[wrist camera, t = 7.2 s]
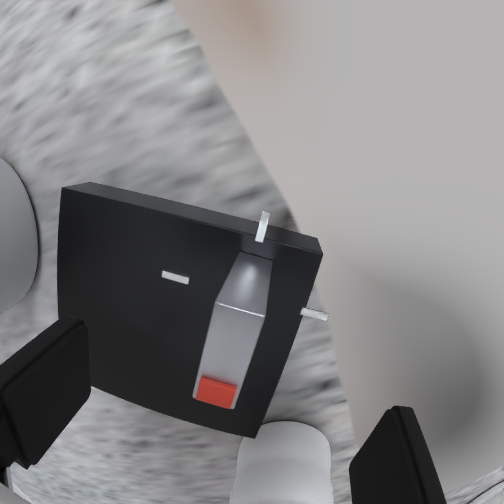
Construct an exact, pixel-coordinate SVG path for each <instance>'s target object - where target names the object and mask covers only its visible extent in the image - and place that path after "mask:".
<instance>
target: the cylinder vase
mask: <svg viewBox="0 0 504 504" xmlns="http://www.w3.org/2000/svg"><path fill="white" fill-rule="evenodd" d="M37 259H38V238H37V229H36V223H35V218H34V213H33V209H32V206H31V202H30V199H29V197H28V194H27V192H26V189H25V187H24V185H23V183H22V181H21V179H20V178H19V176H18V175H17V173H16V172H15V171H14V169H13V168H12V167H11V166H10V165H9V164H8V163H7V162H6V161H5V160H3V159H2V158H0V314H2V313H3V312H5V311H6V310H8V309H9V308H11V307H12V306H14V305H15V304H17V303H18V302H20V301H21V300H22V299H23V298H24V297H25V295H26V294H27V293H28V291H29V289H30V287H31V285H32V283H33V280H34V277H35V273H36V267H37Z"/></svg>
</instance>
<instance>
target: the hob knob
mask: <svg viewBox="0 0 504 504" xmlns="http://www.w3.org/2000/svg"><path fill="white" fill-rule="evenodd" d="M272 265H273V261H271V260H268V259H264V258H261V257H257V256H254V255H250V254H247V253H244V252H239V254H238V256H237V258H236V260H235V262H234V264H233V266H232V268H231V270H230V272H229V274H228V276H227V278H226V280H225V282H224V284H223V286H222V288H221V290H220V292H219V294H218V296H217V298H216V300H215V302H214V306H213V311H212V315H211V319H210V323H209V327H208V331H207V335H206V340H205V344H204V348H203V352H202V356H201V361H200V365H199V369H198V374H197V378H196V382H195V387H194V391H193V395H192V396H193V398H195V399H196V400H200V401H203V402H206V403H210V404H213V405H216V406H220V407H223V408H227V409H230V408H231V409H234V407H235V404H236V402H237V399H238V396H239V393H240V390H241V387H242V384H243V381H244V379H245V376H246V373H247V370H248V367H249V364H250V361H251V358H252V355H253V352H254V349H255V346H256V343H257V340H258V337H259V334H260V331H261V328H262V325H263V322H264V319H265V315H266V308H267V301H268V294H269V287H270V279H271V272H272Z"/></svg>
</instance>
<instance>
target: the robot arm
mask: <svg viewBox="0 0 504 504" xmlns="http://www.w3.org/2000/svg"><path fill="white" fill-rule="evenodd" d="M90 393H91V383H90V368H89V342H88V328H87V327H85V323H84V321H83V320H81V319H78V318H76V317H74V316H71V315H69V314H66V315H64V316H63V317H61V318H60V319H59V320H57V321H56V322H55V323H54V324H52V325H51V326H50V327H48V328H47V329H46V330H44V331H43V332H42V333H40V334H39V335H38V336H37V337H35V338H34V339H33V340H31V341H30V342H29V343H28V344H26V345H25V346H24V347H22V348H21V349H20V350H19V351H17V352H16V353H15V354H14V355H12V356H11V357H10V358H9V359H7V360H6V361H5V362H4V363H2V364H1V365H0V504H31V503H29V502H27V501H26V500H25V499H23V498H22V497H20V496H19V495H17V494H16V493H14V492H13V487H12V480H11V473H10V466H11V464H12V463H13V462H14V461H15V462H16V463H18V464H19V465H21V466H22V467H23V468H25V469H26V470H27V469H28V468H29V466H30V465H31V464H32V465H35V464H37V463H38V462H39V460H40V459H41V458H42V457H43V455H44V454H45V453H46V451H47V450H48V449H49V448H50V446H51V445H52V444H53V442H54V441H55V440H56V439H57V437H58V436H59V435H60V433H61V432H62V431H63V430H64V428H65V427H66V426H67V425H68V423H69V422H70V421H71V420H72V418H73V417H74V416H75V414H76V413H77V412H78V411H79V409H80V408H81V407H82V406H83V404H84V403H85V402H86V401H87V399H88V398H89V396H90ZM349 476H350V485H351V495H352V504H447V503H446V500H445V497H444V494H443V490H442V487H441V484H440V481H439V478H438V475H437V472H436V469H435V467H434V464H433V461H432V458H431V455H430V452H429V450H428V447H427V444H426V442H425V439H424V436H423V434H422V431H421V429H420V426H419V423H418V421H417V418H416V415H415V413H414V411H413V409H412V408H411V407H404V406H393V407H392V408H391V409H388V410H387V411H386V412H385V413H384V415H383V416H382V418H381V419H380V421H379V422H378V424H377V425H376V427H375V428H374V430H373V431H372V433H371V434H370V436H369V437H368V439H367V440H366V442H365V443H364V445H363V446H362V447H361V449H360V450H359V451H358V453H357V454H356V456H355V457H354V458H353V460H352V461H351V463H350V466H349ZM469 504H504V481H503V482H501V483H499V484H498V485H496V486H494V487H492V488H491V489H489V490H488V491H486V492H485V493H483V494H482V495H480V496H479V497H477V498H476V499H475V500H473V501H472V502H471V503H469Z"/></svg>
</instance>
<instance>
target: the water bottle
mask: <svg viewBox="0 0 504 504" xmlns="http://www.w3.org/2000/svg"><path fill="white" fill-rule="evenodd" d="M330 472H331V454H330V446H329V443H328V440H327V438H326V437H325V436H324V434H323V433H321V432H320V431H319V430H317V429H316V428H314V427H312V426H309V425H307V424H303V423H299V422H292V421H279V422H272V423H267V424H264V425H261V427H260V429H259V431H258V434H257V436H256V438H255V439H253V438H248V437H244V438H243V439H242V441H241V443H240V447H239V451H238V457H237V467H236V479H235V481H234V484H233V487H232V491H231V495H230V502H229V504H334V496H333V488H332V483H331V480H330Z"/></svg>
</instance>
